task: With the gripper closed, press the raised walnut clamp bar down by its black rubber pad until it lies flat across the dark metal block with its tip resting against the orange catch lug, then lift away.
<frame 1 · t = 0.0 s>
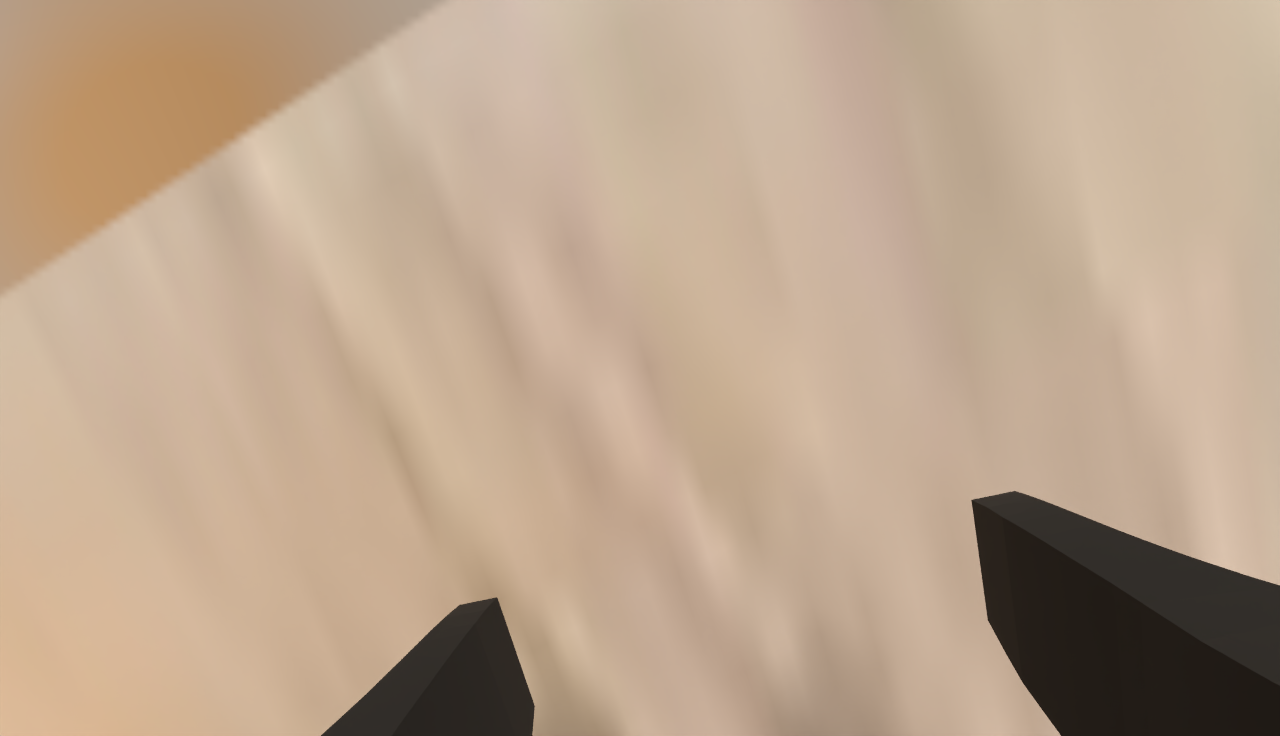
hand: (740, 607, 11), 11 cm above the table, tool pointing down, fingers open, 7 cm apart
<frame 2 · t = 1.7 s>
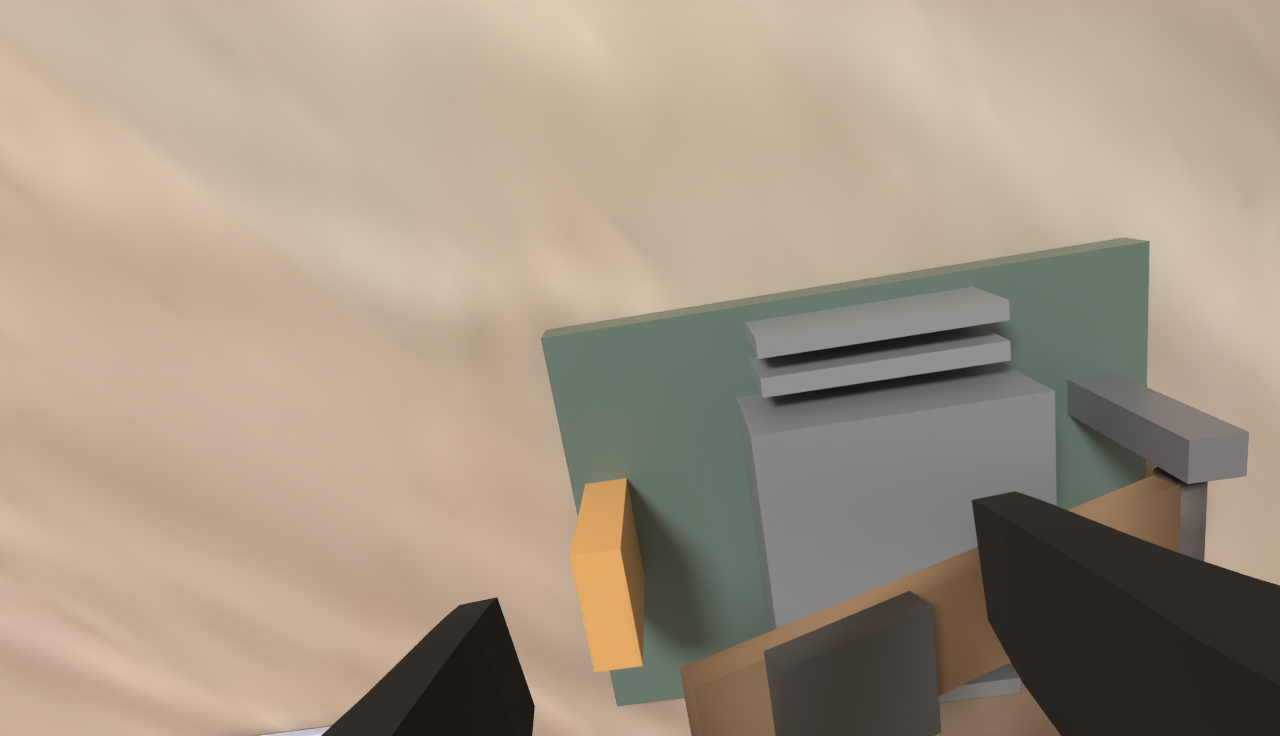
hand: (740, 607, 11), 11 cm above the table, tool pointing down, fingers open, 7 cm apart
clamp board: (847, 482, 21), on the table
clamp bar: (985, 616, 15), point 7 cm above the table, hinge at 22.0°
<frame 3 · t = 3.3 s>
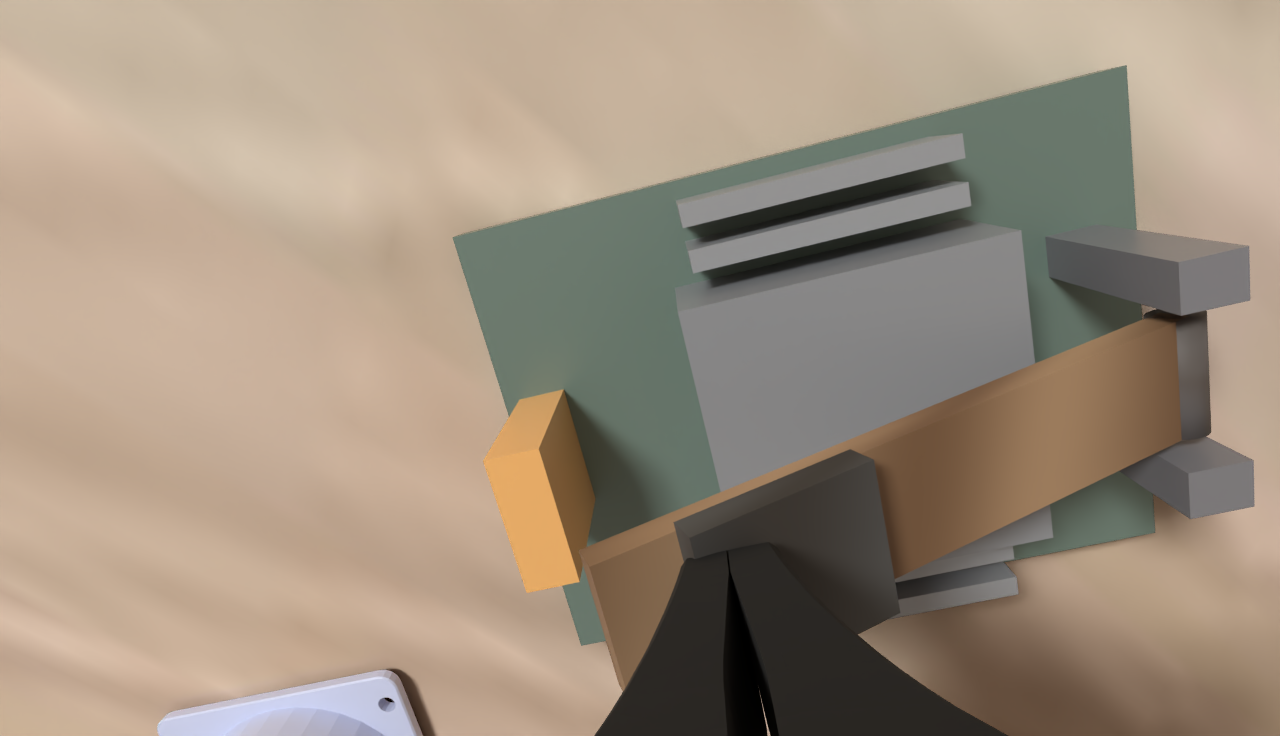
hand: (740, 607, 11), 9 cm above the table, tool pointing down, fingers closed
clamp board: (811, 380, 19), on the table
clamp bar: (949, 482, 13), point 7 cm above the table, hinge at 22.0°, touching gripper
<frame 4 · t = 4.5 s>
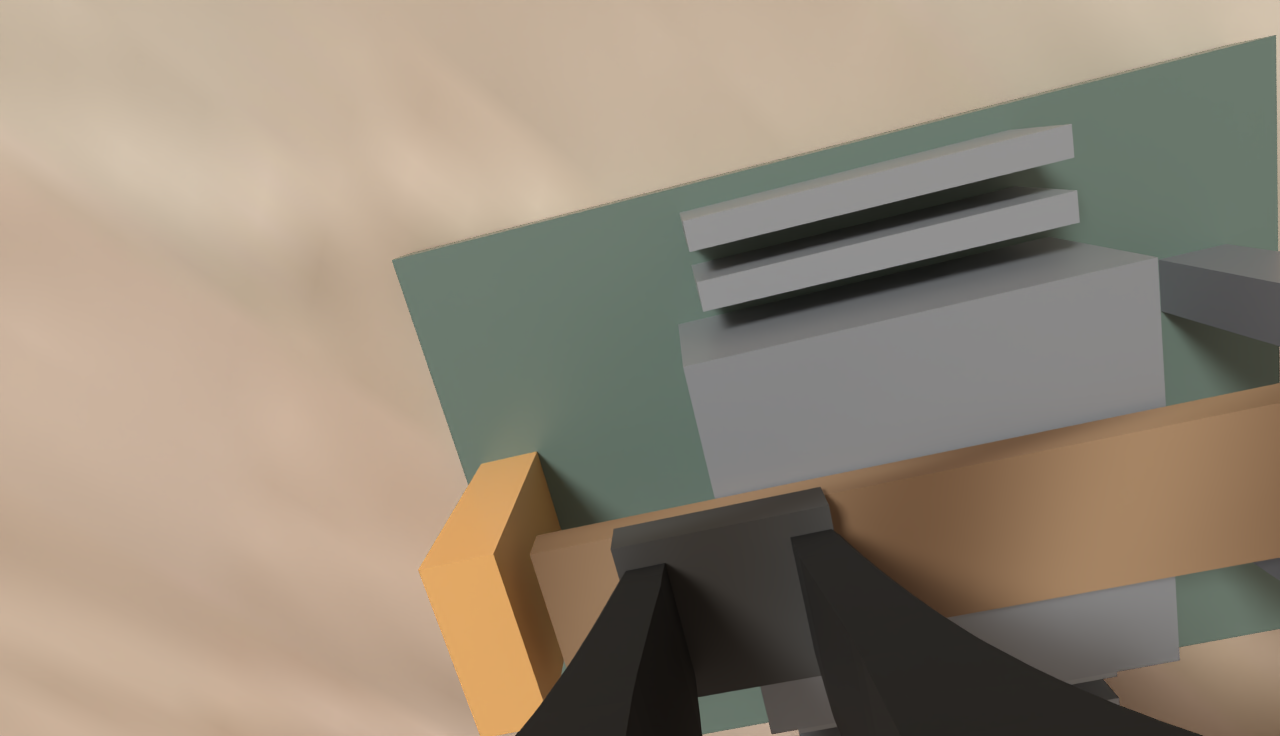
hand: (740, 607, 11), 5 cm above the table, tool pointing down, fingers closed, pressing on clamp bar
clamp board: (849, 436, 15), on the table
clamp bar: (959, 540, 11), point 5 cm above the table, hinge at -0.9°, touching gripper
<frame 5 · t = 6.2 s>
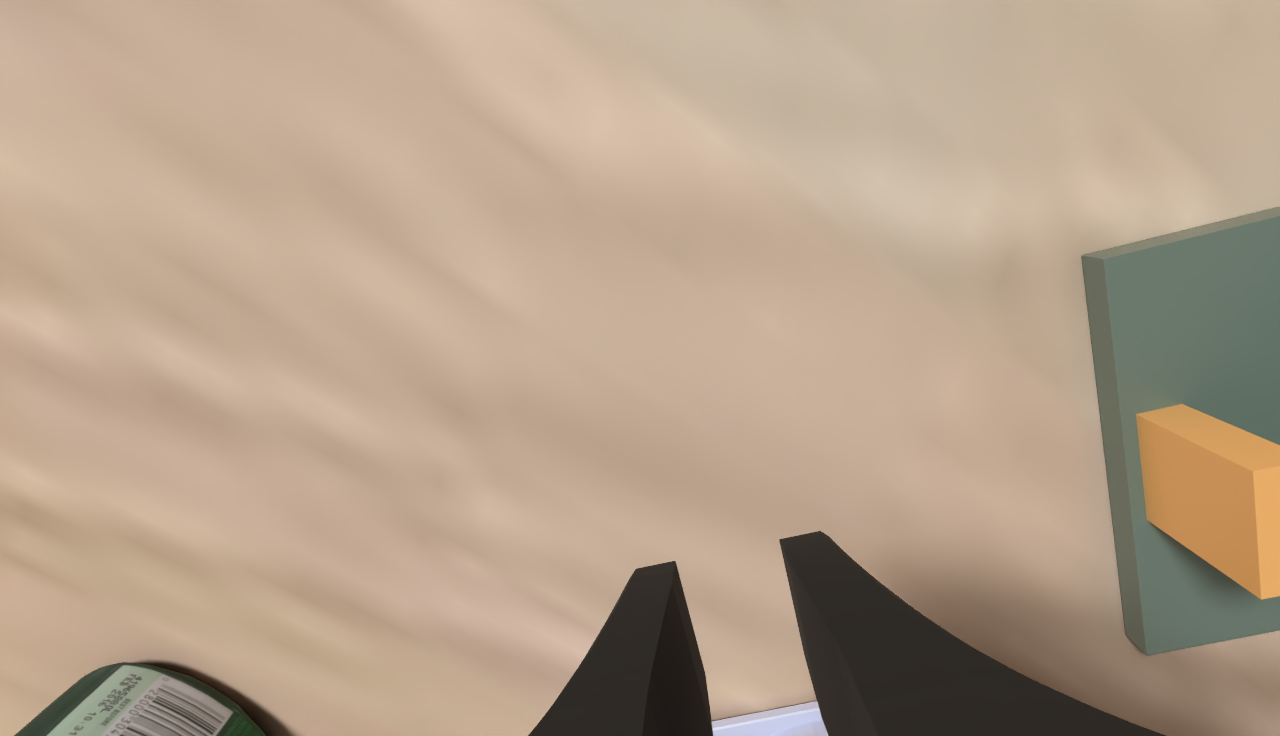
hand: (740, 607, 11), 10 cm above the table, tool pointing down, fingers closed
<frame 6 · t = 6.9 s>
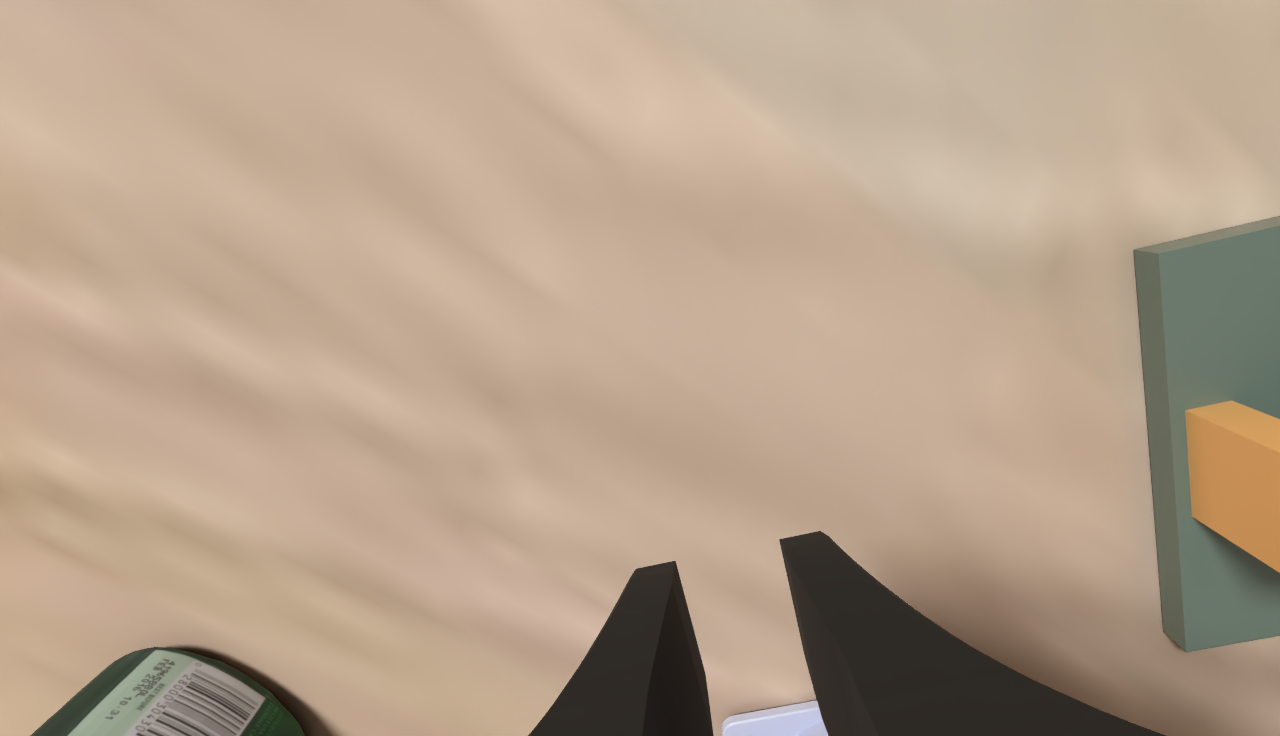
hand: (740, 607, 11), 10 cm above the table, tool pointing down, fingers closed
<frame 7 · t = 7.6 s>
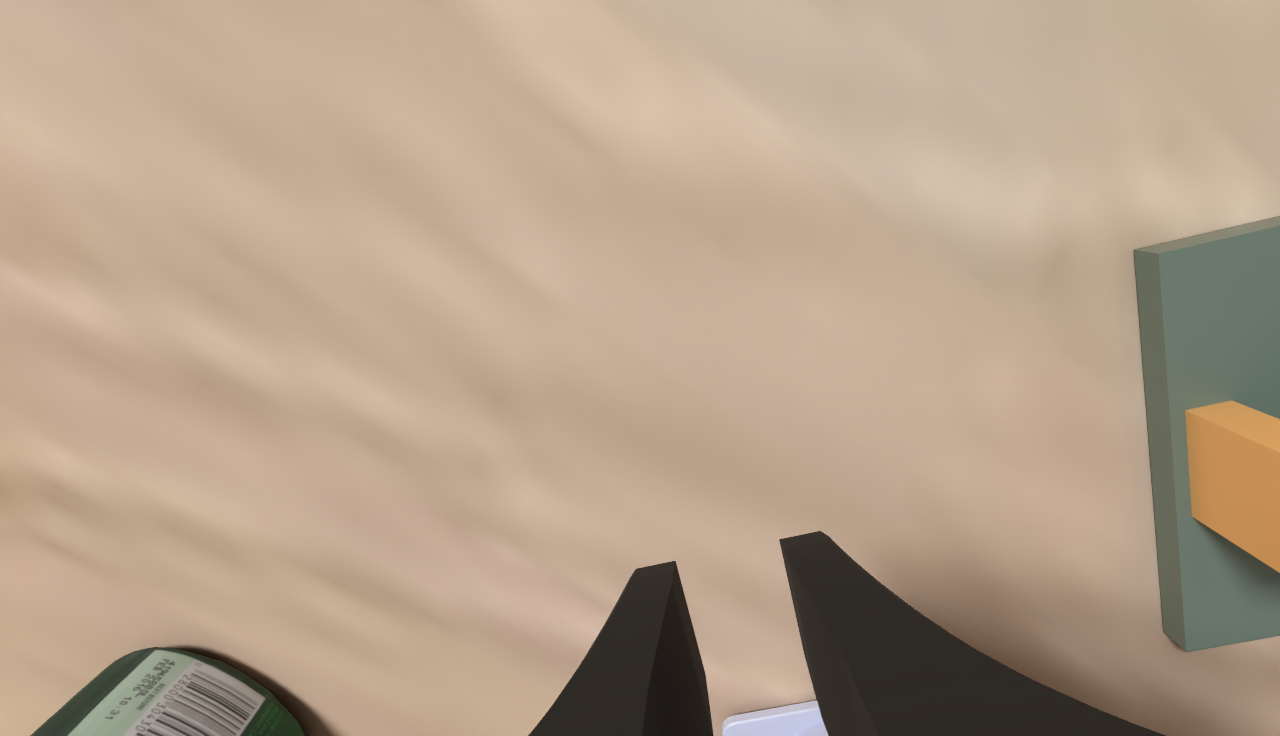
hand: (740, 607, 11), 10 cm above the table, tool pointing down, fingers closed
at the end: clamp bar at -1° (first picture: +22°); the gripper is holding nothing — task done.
